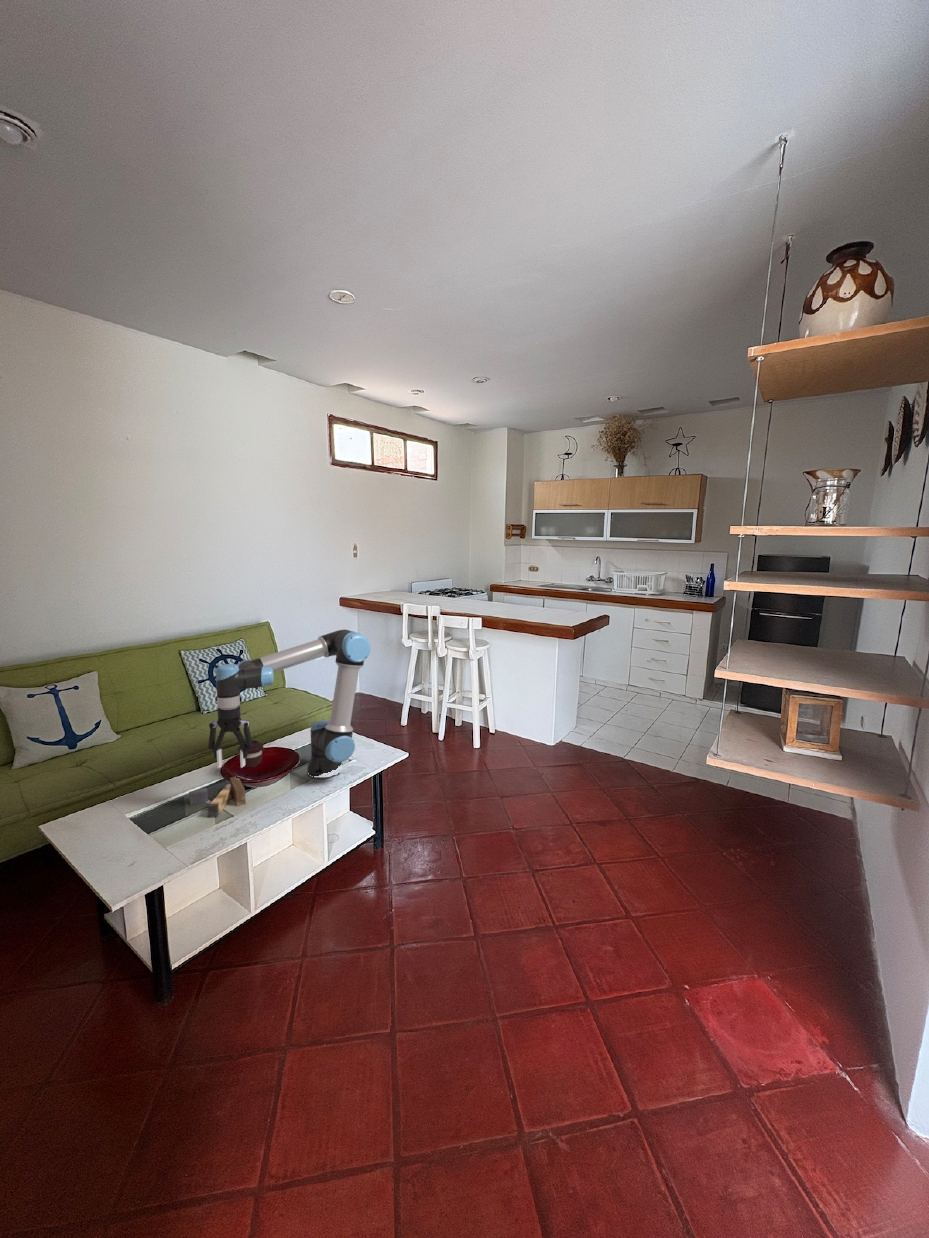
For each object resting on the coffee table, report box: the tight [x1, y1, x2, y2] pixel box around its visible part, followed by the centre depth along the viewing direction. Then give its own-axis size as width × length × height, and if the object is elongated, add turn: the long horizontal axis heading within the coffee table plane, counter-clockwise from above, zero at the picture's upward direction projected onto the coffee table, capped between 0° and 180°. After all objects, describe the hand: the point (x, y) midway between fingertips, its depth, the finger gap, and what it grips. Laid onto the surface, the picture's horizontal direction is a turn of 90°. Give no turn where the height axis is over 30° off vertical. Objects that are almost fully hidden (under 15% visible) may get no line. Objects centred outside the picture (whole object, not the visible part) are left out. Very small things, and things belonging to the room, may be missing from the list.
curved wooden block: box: [229, 775, 246, 807], centre depth 193 cm, size 3×14×6 cm, turn 35°
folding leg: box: [206, 783, 233, 818], centre depth 186 cm, size 16×3×5 cm, turn 5°
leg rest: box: [188, 787, 209, 806], centre depth 190 cm, size 6×3×4 cm, turn 125°
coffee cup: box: [237, 739, 264, 767], centre depth 213 cm, size 10×10×15 cm
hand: (231, 766), depth 182 cm, fingers open, 8 cm apart
